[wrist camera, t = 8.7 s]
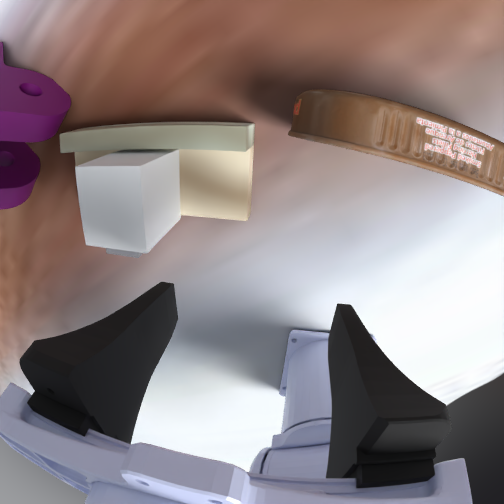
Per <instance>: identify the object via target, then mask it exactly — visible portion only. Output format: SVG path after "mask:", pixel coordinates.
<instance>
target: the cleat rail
mask: <svg viewBox="0 0 504 504" xmlns="http://www.w3.org/2000/svg"><path fill="white" fill-rule="evenodd" d="M254 130H255V123H235V122H155V123H135V124H120V125H108V126H97V127H88V128H82V129H77V130H73V131H69V132H65V133H61V134H59V135H60V149H61V153H69V152H75V163H76V166H78V165H81V164H84V163H86V162H89V161H91V160H94V159H97V158H99V157H102V156H105V155H108V154H111V153H113V152H116V151H119V150H127V149H179V175H180V212H181V215H187V216H198V217H209V218H220V219H230V220H241V221H247V220H248V218H249V215H250V210H251V190H252V170H253V150H254Z"/></svg>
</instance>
